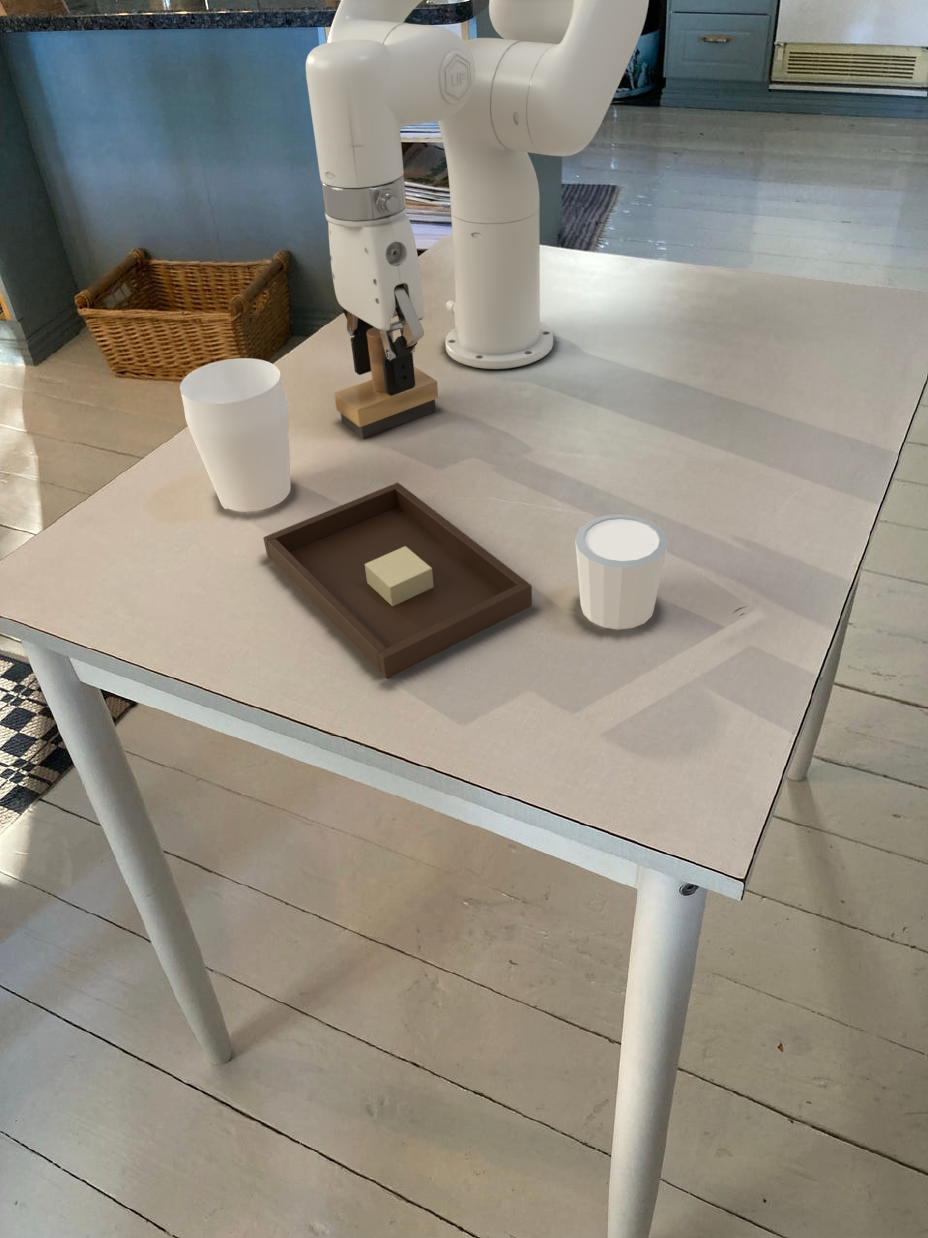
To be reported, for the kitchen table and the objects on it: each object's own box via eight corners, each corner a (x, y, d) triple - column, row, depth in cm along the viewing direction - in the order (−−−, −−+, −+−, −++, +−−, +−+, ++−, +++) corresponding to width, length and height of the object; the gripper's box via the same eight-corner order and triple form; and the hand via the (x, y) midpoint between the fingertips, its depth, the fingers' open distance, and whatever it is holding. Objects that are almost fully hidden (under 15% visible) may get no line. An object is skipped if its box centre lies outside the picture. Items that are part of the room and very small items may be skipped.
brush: (338, 423, 104) (325, 337, 98) (414, 394, 108) (407, 310, 102) (361, 440, 101) (349, 353, 95) (439, 410, 105) (432, 325, 99)
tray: (268, 561, 86) (262, 537, 84) (400, 505, 92) (397, 481, 90) (387, 684, 73) (383, 658, 72) (532, 611, 79) (531, 585, 77)
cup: (305, 516, 91) (283, 397, 84) (206, 529, 90) (174, 410, 83) (301, 466, 98) (281, 352, 90) (209, 478, 97) (180, 363, 90)
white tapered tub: (676, 627, 76) (684, 554, 72) (593, 648, 75) (596, 574, 71) (639, 577, 82) (644, 505, 77) (560, 595, 80) (561, 523, 76)
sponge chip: (366, 583, 82) (364, 563, 81) (407, 564, 84) (405, 545, 82) (392, 607, 79) (390, 587, 78) (434, 587, 81) (432, 567, 80)
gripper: (451, 209, 87) (462, 398, 98) (352, 169, 98) (373, 343, 109) (378, 230, 84) (398, 423, 95) (284, 185, 95) (313, 363, 106)
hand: (384, 378), depth 102 cm, fingers open, 5 cm apart
